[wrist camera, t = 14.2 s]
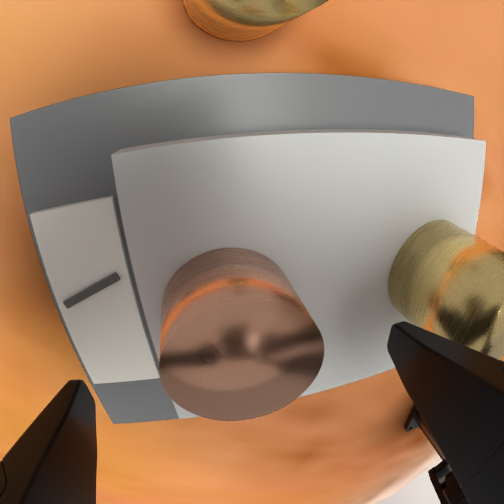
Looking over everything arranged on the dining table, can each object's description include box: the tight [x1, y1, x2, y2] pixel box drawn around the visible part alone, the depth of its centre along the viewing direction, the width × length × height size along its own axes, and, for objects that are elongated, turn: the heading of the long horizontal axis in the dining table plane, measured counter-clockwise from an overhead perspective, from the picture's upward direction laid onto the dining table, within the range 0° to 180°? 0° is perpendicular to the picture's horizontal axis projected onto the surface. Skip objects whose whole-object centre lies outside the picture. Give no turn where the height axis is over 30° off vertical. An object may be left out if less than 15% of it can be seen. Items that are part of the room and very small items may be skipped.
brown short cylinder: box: [159, 248, 324, 421], centre depth 9 cm, size 4×4×3 cm
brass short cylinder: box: [388, 220, 504, 360], centre depth 10 cm, size 4×4×4 cm
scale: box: [10, 73, 486, 424], centre depth 13 cm, size 15×19×4 cm
